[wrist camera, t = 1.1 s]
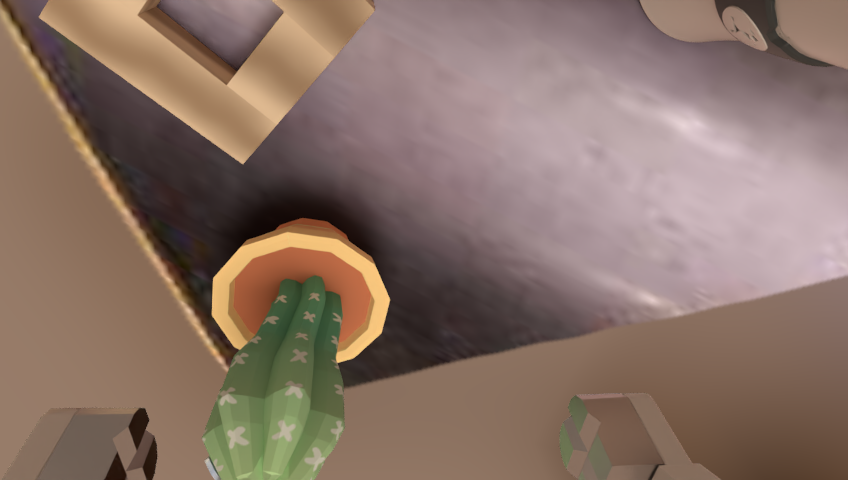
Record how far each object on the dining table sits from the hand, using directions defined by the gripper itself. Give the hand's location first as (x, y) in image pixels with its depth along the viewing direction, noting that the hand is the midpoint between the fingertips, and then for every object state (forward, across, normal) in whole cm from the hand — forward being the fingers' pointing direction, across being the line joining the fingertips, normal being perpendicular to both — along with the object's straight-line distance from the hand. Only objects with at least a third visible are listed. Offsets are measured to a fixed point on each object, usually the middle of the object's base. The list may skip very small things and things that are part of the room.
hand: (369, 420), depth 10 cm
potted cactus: (+37, +5, +22) cm, 43 cm away
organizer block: (+37, +10, -1) cm, 39 cm away
